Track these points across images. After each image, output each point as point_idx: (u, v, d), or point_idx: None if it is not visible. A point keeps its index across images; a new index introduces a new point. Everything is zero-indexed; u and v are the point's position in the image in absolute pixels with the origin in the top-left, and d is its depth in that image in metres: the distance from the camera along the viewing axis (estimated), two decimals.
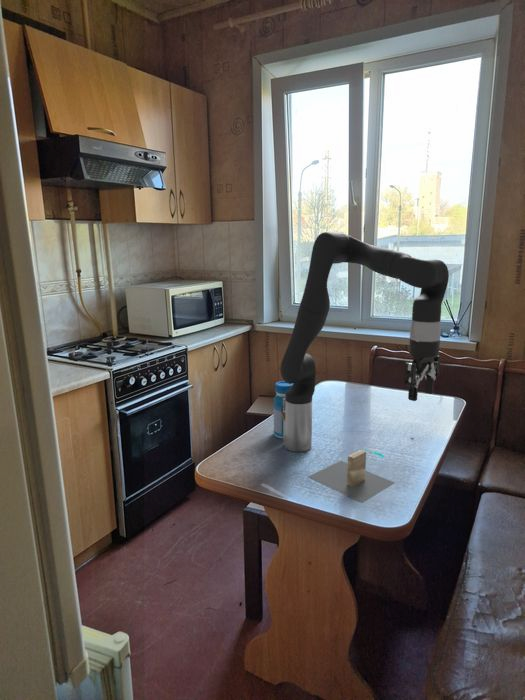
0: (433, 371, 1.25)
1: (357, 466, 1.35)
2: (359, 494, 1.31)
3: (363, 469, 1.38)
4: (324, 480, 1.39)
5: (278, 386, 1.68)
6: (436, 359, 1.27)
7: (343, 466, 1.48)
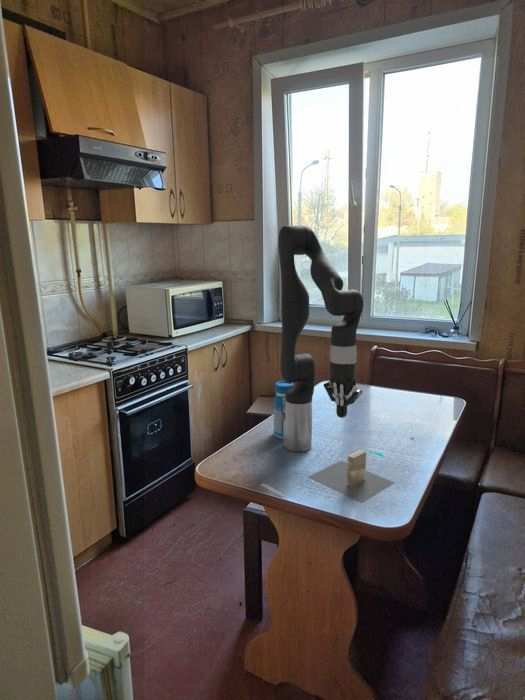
0: None
1: (357, 466, 1.35)
2: (359, 494, 1.31)
3: (363, 469, 1.38)
4: (324, 480, 1.39)
5: (278, 386, 1.68)
6: None
7: (343, 466, 1.48)
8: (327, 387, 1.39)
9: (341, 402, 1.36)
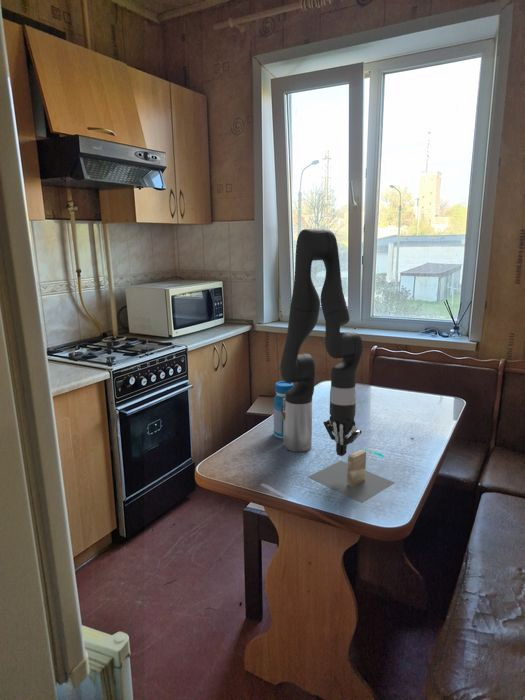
0: None
1: (357, 466, 1.35)
2: (359, 494, 1.31)
3: (363, 469, 1.38)
4: (324, 480, 1.39)
5: (278, 386, 1.68)
6: None
7: (343, 466, 1.48)
8: (327, 425, 1.41)
9: (341, 441, 1.38)
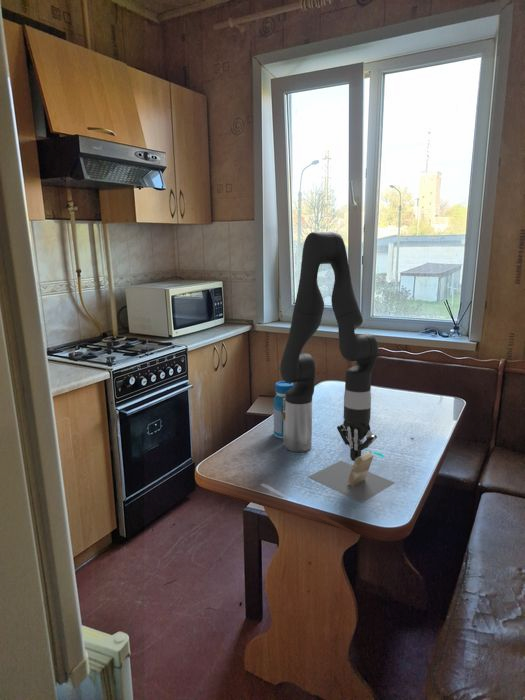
0: None
1: (362, 469, 1.34)
2: (359, 494, 1.31)
3: (366, 471, 1.37)
4: (324, 480, 1.39)
5: (278, 386, 1.68)
6: None
7: (343, 466, 1.48)
8: (341, 430, 1.37)
9: (355, 446, 1.34)
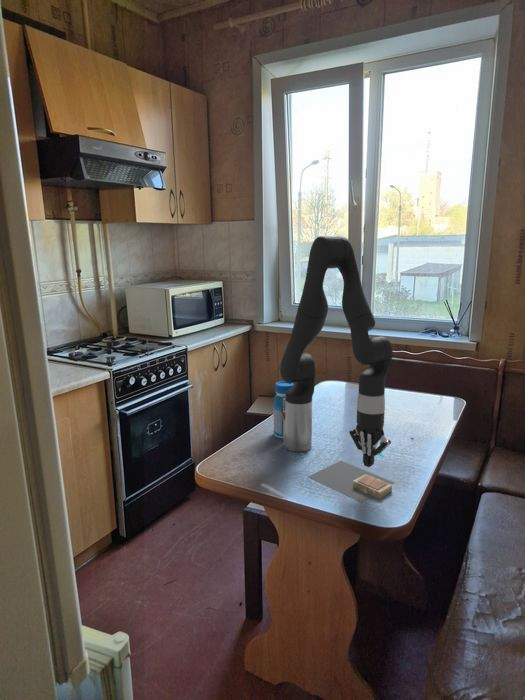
0: None
1: None
2: (359, 494, 1.31)
3: None
4: (324, 480, 1.39)
5: (278, 386, 1.68)
6: None
7: (343, 466, 1.48)
8: (353, 435, 1.34)
9: (368, 451, 1.31)
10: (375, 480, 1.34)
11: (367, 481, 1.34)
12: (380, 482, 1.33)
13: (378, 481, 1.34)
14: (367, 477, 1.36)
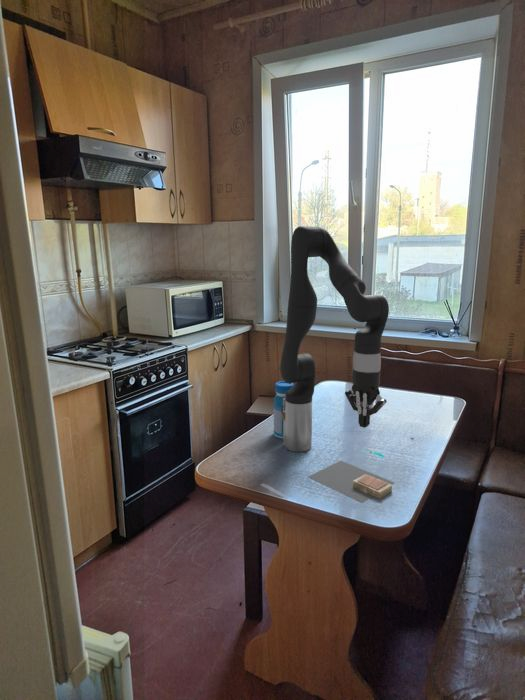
0: None
1: None
2: (359, 494, 1.31)
3: None
4: (324, 480, 1.39)
5: (278, 386, 1.68)
6: None
7: (343, 466, 1.48)
8: (349, 395, 1.33)
9: (364, 411, 1.30)
10: (375, 480, 1.34)
11: (367, 481, 1.34)
12: (380, 482, 1.33)
13: (378, 481, 1.34)
14: (367, 477, 1.36)
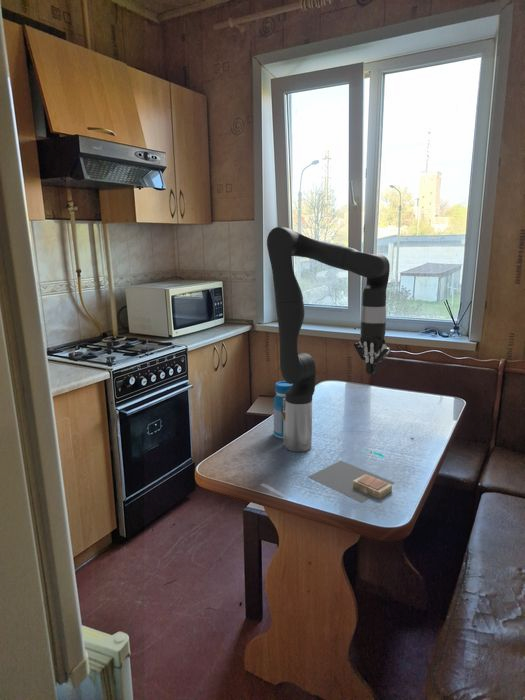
0: None
1: None
2: (359, 494, 1.31)
3: None
4: (324, 480, 1.39)
5: (278, 386, 1.68)
6: None
7: (343, 466, 1.48)
8: (357, 347, 1.49)
9: (371, 360, 1.46)
10: (375, 480, 1.34)
11: (367, 481, 1.34)
12: (380, 482, 1.33)
13: (378, 481, 1.34)
14: (367, 477, 1.36)
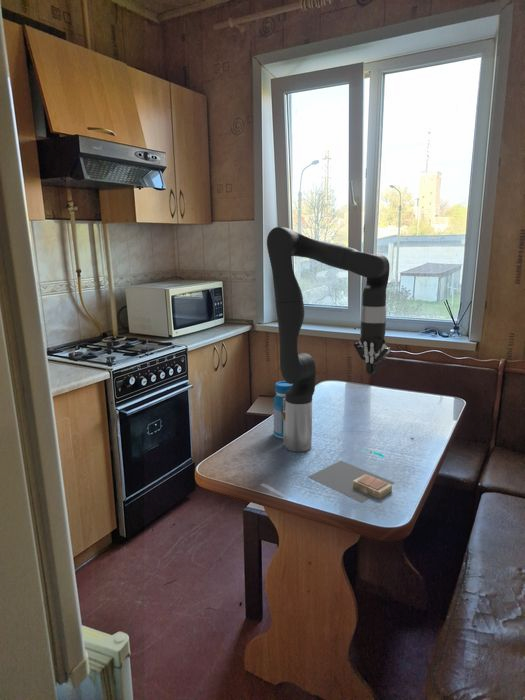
0: None
1: None
2: (359, 494, 1.31)
3: None
4: (324, 480, 1.39)
5: (278, 386, 1.68)
6: None
7: (343, 466, 1.48)
8: (357, 346, 1.49)
9: (371, 360, 1.46)
10: (375, 480, 1.34)
11: (367, 481, 1.34)
12: (380, 482, 1.33)
13: (378, 481, 1.34)
14: (367, 477, 1.36)
